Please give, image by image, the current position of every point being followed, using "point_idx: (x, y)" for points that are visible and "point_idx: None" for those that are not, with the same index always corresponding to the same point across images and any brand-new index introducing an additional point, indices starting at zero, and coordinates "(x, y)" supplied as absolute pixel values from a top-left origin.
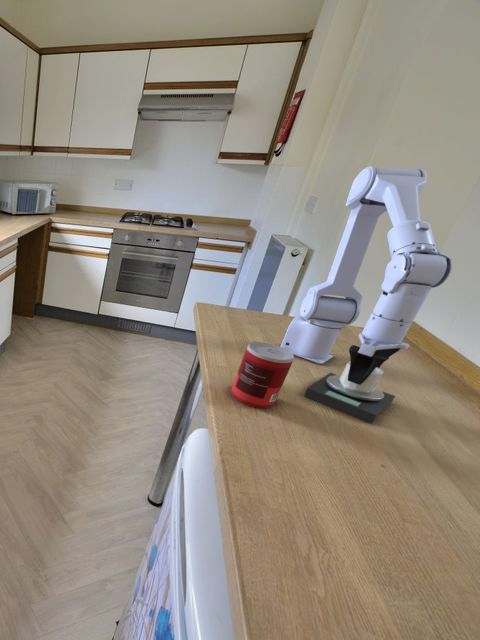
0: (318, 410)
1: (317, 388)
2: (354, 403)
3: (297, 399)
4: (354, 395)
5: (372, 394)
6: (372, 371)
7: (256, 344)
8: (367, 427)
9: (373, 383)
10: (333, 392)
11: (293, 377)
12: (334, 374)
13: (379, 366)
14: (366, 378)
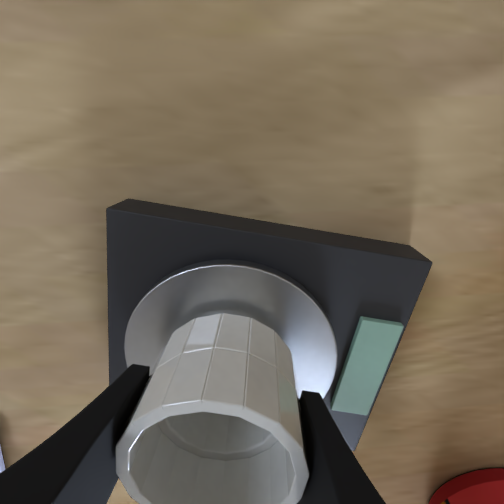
0: (428, 378)
1: None
2: (389, 337)
3: (388, 426)
4: (336, 354)
5: (260, 304)
6: (345, 483)
7: None
8: (454, 252)
9: (273, 362)
10: None
11: None
12: None
13: (107, 426)
14: (339, 431)
